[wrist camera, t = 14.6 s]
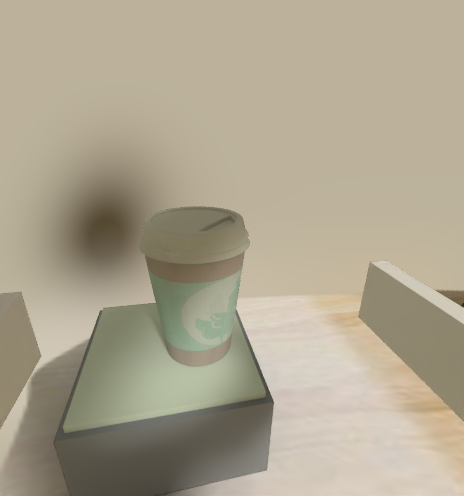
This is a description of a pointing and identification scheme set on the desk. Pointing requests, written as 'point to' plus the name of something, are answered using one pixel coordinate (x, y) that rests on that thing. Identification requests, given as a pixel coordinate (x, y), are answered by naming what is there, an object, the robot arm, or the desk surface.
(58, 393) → the desk surface
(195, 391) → the block
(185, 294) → the coffee cup
